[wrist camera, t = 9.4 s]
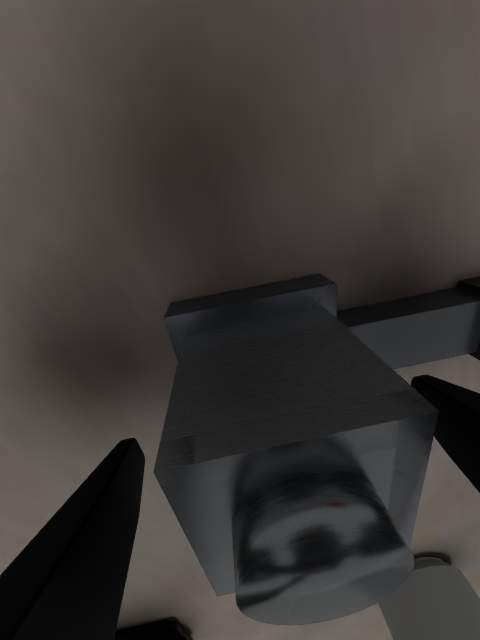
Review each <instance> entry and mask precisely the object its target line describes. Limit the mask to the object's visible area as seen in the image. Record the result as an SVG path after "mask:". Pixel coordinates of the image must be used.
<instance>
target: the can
mask: <svg viewBox="0 0 480 640" xmlns="http://www.w3.org/2000/svg"><path fill="white" fill-rule="evenodd" d="M378 604H379V606H380V609H381V611H382V614H383V616H384V618H385V621H386V623H387V626H388V628H389V630H390V633H391V635H392V637H393V640H480V598H479V597H478V595H477V594H476V592H475V591H474V589H473V588H472V586H471V585H470V583H469V582H468V581H467V579H466V578H465V576H464V575H463V573H462V572H461V570H459V569H458V568H456V567H454V566H452V565H450V564H447V563H445V562H444V561H443V560H441V559H439V558H435V557H420V558H416V559H414V567H413V570H412V573H411V574H410V576H409V577H408V579H407V580H406V581H405V582H404V584H402V585H401V586H400V587H399V588H398V589H397V590H396V591H395V592H393V593H392V594H391V595H389V596H388V597H386V598H384V599H383V600H381V601H379V602H378Z"/></svg>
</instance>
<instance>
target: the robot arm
mask: <svg viewBox="0 0 480 640" xmlns="http://www.w3.org/2000/svg"><path fill="white" fill-rule="evenodd" d="M411 386H412V387H413V388H414V389H415V390H416V391H417V392H418V393H420V394H421V395H422V396H423V397H424V398H425V399H426V400H427V401H428V402H429V403H431V404H432V405H433V406H434V407H435V408H436V409H437V410H438V411H439V414H438V418H437V423H436V428H435V432H434V437H435V438H436V440H437V441H438V442H439V444H440V445H441V446H442V448H443V449H444V450H445V452H446V453H447V454H448V455H449V457H450V458H451V459H452V460H453V461H454V463H455V464H456V465H457V466H458V467H459V469H460V470H461V471H462V472H463V473H464V475H465V476H466V477H467V478H468V479H469V481H470V482H471V483H472V484H473V485H474V487H475V488H476V489H477V490H478V491H479V493H480V394H479V393H477V392H474V391H471V390H468V389H466V388H463V387H460V386H457V385H455V384H452V383H449V382H446V381H444V380H441V379H438V378H435V377H433V376H430V375H421V376H416V377H413V379H412V381H411ZM144 466H145V456H144V453H143V451H142V449H141V448H140V446H139V444H138V442H137V440H136V439H135V438H129V439H124V440H121V441H120V442H119V443H118V444H117V445H116V446H115V447H114V448H113V450H112V451H111V452H110V453H109V454H108V455H107V456H106V457H105V459H104V460H103V461H102V462H101V463H100V464H99V465H98V466H97V468H96V469H95V470H94V471H93V472H92V473H91V474H90V475H89V476H88V478H87V479H86V480H85V481H84V482H83V483H82V484H81V485H80V487H79V488H78V489H77V490H76V491H75V492H74V493H73V494H72V495H71V497H70V498H69V499H68V500H67V501H66V502H65V503H64V504H63V506H62V507H61V508H60V509H59V510H58V511H57V512H56V513H55V515H54V516H53V517H52V518H51V519H50V520H49V521H48V522H47V523H46V525H45V526H44V527H43V528H42V529H41V530H40V531H39V532H38V534H37V535H36V536H35V537H34V538H33V539H32V540H31V541H30V542H29V544H28V545H27V546H26V547H25V548H24V549H23V550H22V551H21V553H20V554H19V555H18V556H17V557H16V558H15V559H14V560H13V562H12V563H11V564H10V565H9V566H8V567H7V568H6V569H5V570H4V572H3V573H2V574H1V575H0V640H191V639H190V638H189V637H188V636H187V634H186V633H185V632H184V630H183V629H182V628H181V626H180V625H179V624H178V622H176V621H168V622H164V623H159V624H155V625H150V626H146V627H142V628H137V629H133V630H128V631H124V632H119V633H115V632H116V627H117V622H118V617H119V612H120V607H121V603H122V598H123V593H124V588H125V583H126V578H127V573H128V568H129V563H130V558H131V554H132V549H133V544H134V539H135V534H136V529H137V524H138V518H139V512H140V503H141V494H142V485H143V475H144Z"/></svg>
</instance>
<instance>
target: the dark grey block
mask: <svg viewBox="0 0 480 640" xmlns="http://www.w3.org/2000/svg"><path fill="white" fill-rule="evenodd" d="M438 414H439V411H438V410H437V409H436V408H435V407H434V406H433V405H432V404H431V403H429V402H428V401H427V400H426V399H425V398H424V397H423V396H422V395H421V394H420V393H418V392H417V391H416V390H415V389H414V388H413V387H412V386H411V385H410V384H408V383H407V382H406V381H405V380H404V379H403V378H402V377H401V376H400V375H398V374H397V373H396V372H395V371H394V370H393V369H392V368H391V367H390V366H389V365H387V364H386V363H385V362H384V361H383V360H382V359H381V358H380V357H379V356H377V355H376V354H375V353H374V352H373V351H372V350H371V349H370V348H369V347H368V346H366V345H365V344H364V343H363V342H362V341H361V340H360V339H359V338H358V337H356V336H355V335H354V334H353V333H352V332H351V331H350V330H349V329H348V328H346V327H345V326H344V325H343V324H342V323H341V322H340V321H339V320H338V319H337V318H335V317H334V316H333V315H332V314H331V313H330V312H329V311H328V310H327V309H325V308H324V307H323V306H322V307H317V308H312V309H308V310H303V311H298V312H293V313H288V314H283V315H278V316H274V317H269V318H264V319H259V320H254V321H249V322H245V323H240V324H235V325H230V326H225V327H220V328H215V329H211V330H206V331H201V332H196V333H191V334H186V335H184V339H183V343H182V348H181V352H180V356H179V361H178V365H177V370H176V374H175V379H174V383H173V388H172V392H171V396H170V401H169V405H168V410H167V414H166V419H165V423H164V428H163V432H162V436H161V441H160V445H159V450H158V454H157V459H156V463H155V468H154V474H155V476H156V478H157V480H158V482H159V484H160V486H161V488H162V490H163V492H164V494H165V496H166V498H167V500H168V502H169V503H170V505H171V507H172V509H173V511H174V513H175V515H176V517H177V519H178V521H179V523H180V525H181V527H182V529H183V531H184V533H185V535H186V537H187V539H188V540H189V542H190V544H191V546H192V548H193V550H194V552H195V554H196V556H197V558H198V560H199V562H200V564H201V566H202V568H203V570H204V572H205V574H206V576H207V577H208V579H209V581H210V583H211V585H212V587H213V589H214V591H215V593H216V595H217V596H221V595H225V594H230V593H234V592H236V603H237V606H238V608H239V609H240V611H241V612H242V613H244V614H245V615H246V616H248V617H249V618H252V619H254V620H256V621H260V622H263V623H268V624H276V625H303V624H312V623H319V622H324V621H329V620H333V619H337V618H340V617H343V616H347V615H350V614H353V613H355V612H358V611H360V610H363V609H365V608H368V607H370V606H372V605H374V604H376V603H378V602H379V601H381V600H383V599H384V598H386V597H388V596H389V595H391V594H392V593H393V592H395V591H396V590H397V589H398V588H399V587H400V586H401V585H402V584H404V582H405V581H406V580H407V579H408V577H409V576H410V574H411V573H412V570H413V567H414V556H413V554H412V552H411V550H410V548H409V547H410V542H411V537H412V533H413V528H414V524H415V519H416V515H417V510H418V505H419V501H420V496H421V492H422V487H423V482H424V478H425V473H426V469H427V464H428V460H429V455H430V450H431V446H432V441H433V437H434V432H435V428H436V423H437V418H438Z"/></svg>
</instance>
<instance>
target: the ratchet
mask: <svg viewBox="0 0 480 640" xmlns="http://www.w3.org/2000/svg"><path fill="white" fill-rule="evenodd" d="M322 306H323V307H324V308H325V309H327V310H328V311H329V312H330V313H331V314H332V315H333V316H334V317H335V318H337V319H338V320H339V321H340V322H341V323H342V324H343V325H344V326H345V327H346V328H348V329H349V330H350V331H351V332H352V333H353V334H354V335H355V336H356V337H358V338H359V339H360V340H361V341H362V342H363V343H364V344H365V345H366V346H368V347H369V348H370V349H371V350H372V351H373V352H374V353H375V354H376V355H377V356H379V357H380V358H381V359H382V360H383V361H384V362H385V363H386V364H387V365H389V366H390V367H391V368H392V369H396V368H401V367H406V366H411V365H416V364H421V363H426V362H430V361H435V360H440V359H445V358H450V357H455V356H460V355H465V354H470V355H471V356H473V357H475V358H476V359H478V360H480V276H479V277H474V278H469V279H464V280H459V281H458V286H457V287H456V288H451V289H446V290H441V291H436V292H431V293H426V294H421V295H416V296H411V297H406V298H401V299H396V300H391V301H386V302H381V303H376V304H371V305H366V306H361V307H356V308H351V309H346V310H341V311H337V298H336V283H334V282H333V281H331V280H329V279H328V278H326V277H325V276H323V275H321V274H315V275H310V276H305V277H300V278H295V279H289V280H284V281H279V282H274V283H269V284H264V285H259V286H254V287H249V288H244V289H239V290H234V291H229V292H223V293H218V294H213V295H208V296H203V297H198V298H193V299H188V300H183V301H178V302H173V303H170V305H169V307H168V309H167V312H166V314H165V316H164V321H165V324H166V327H167V330H168V333H169V336H170V339H171V342H172V345H173V348H174V351H175V354H176V357H177V360H178V361H179V356H180V352H181V348H182V343H183V339H184V335H186V334H191V333H196V332H201V331H206V330H211V329H215V328H220V327H225V326H230V325H235V324H240V323H245V322H249V321H254V320H259V319H264V318H269V317H274V316H278V315H283V314H288V313H293V312H298V311H303V310H308V309H312V308H317V307H322Z"/></svg>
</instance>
